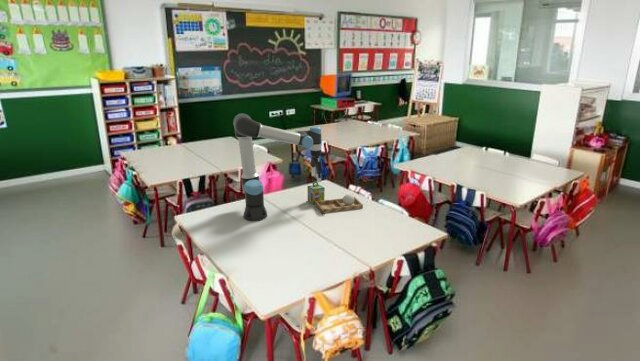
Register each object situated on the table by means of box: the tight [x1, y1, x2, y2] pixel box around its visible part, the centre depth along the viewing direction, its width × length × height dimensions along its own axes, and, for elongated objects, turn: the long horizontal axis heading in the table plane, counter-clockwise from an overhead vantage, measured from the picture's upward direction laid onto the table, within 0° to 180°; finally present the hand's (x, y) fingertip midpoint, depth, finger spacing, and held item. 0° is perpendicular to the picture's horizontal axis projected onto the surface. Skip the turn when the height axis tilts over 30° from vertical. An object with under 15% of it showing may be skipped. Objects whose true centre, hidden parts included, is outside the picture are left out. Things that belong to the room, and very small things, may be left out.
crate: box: [315, 196, 364, 215], centre depth 280 cm, size 29×15×4 cm, turn 107°
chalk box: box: [307, 180, 325, 206], centre depth 288 cm, size 9×9×15 cm
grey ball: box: [342, 193, 355, 206], centre depth 281 cm, size 8×8×8 cm
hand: (316, 178), depth 285 cm, fingers open, 13 cm apart
